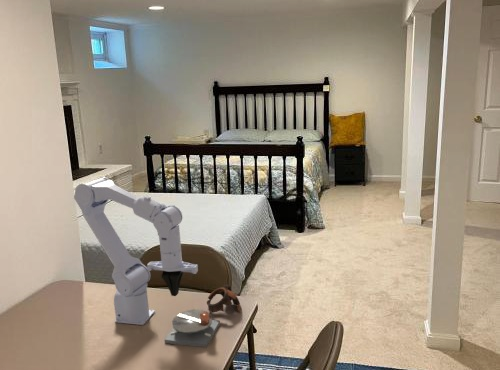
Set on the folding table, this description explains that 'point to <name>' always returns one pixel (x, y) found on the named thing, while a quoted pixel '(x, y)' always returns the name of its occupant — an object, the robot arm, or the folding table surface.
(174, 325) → the handwheel
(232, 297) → the brown curved ring
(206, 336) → the wheel base
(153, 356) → the folding table surface
